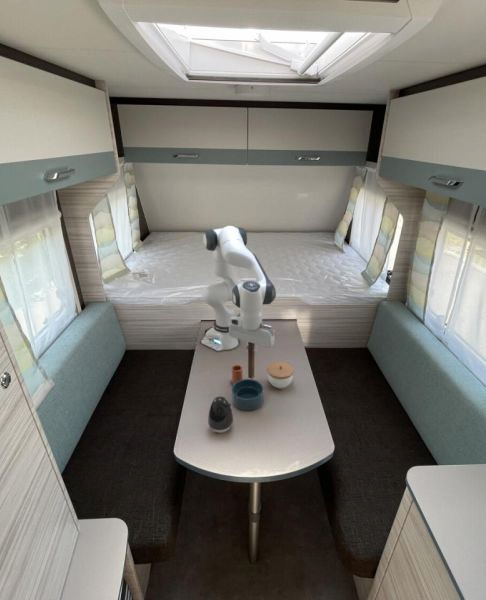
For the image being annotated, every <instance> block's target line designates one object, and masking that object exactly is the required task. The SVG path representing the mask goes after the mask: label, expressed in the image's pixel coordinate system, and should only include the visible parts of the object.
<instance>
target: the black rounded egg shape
mask: <svg viewBox="0 0 486 600" xmlns="http://www.w3.org/2000/svg"><path fill="white" fill-rule="evenodd" d="M231 406H232V404H231V403H229V401H228V400H227V399H226V398H225V397H224V396H221V395H220V396H216V397H215V398H214V399H213V400H212V402H211V404H210V406H209V409H208V415H207V423H208V426H209V428H210V429H211V430H212V431H213V432H215V433H219V434H221V433H226V432H227V431H228V430H230V428H231V427H232V424H233V423H234V415H233V411H232V408H231Z"/></svg>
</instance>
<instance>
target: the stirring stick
mask: <svg viewBox="0 0 486 600" xmlns="http://www.w3.org/2000/svg"><path fill="white" fill-rule="evenodd" d="M254 346H255V344H254V343H251V342H248V350H247V376H248V377H247V379H253V380H254V377H255V352H254V351H252V348H253V347H254Z"/></svg>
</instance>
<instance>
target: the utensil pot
mask: <svg viewBox="0 0 486 600" xmlns="http://www.w3.org/2000/svg"><path fill="white" fill-rule="evenodd" d="M243 373H244V372H243V366H242V365H240V364H234V365H232V366H231V383H232V386H233V385H234V384H235V383H236V382H238V381H240V380H243V379H244V378H243V376H244V374H243Z"/></svg>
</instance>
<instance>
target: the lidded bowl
mask: <svg viewBox="0 0 486 600" xmlns="http://www.w3.org/2000/svg"><path fill="white" fill-rule="evenodd" d="M293 377H294V367H293V366H292V364H290V363H289V362H285V361H274V362H271V363H270V364H269V365H268V366H267V379H268V382H269V383H270V385H272V387H274V388H276V389H278V390H283V389H286V388H287V387H289V385H290V384H291V383H292V381H293Z"/></svg>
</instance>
